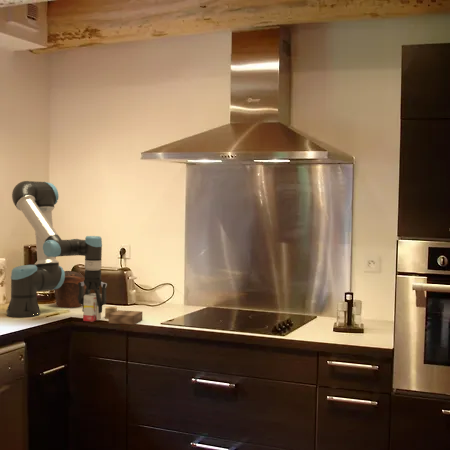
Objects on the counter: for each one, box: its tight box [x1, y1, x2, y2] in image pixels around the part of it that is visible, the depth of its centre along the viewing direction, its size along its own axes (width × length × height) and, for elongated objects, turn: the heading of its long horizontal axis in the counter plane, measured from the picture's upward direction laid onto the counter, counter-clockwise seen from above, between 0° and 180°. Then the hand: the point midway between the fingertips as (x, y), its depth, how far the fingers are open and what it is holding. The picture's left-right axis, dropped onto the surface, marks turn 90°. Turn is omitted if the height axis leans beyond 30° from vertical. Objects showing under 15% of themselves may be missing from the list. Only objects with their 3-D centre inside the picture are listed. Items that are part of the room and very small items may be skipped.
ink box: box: [82, 292, 102, 323], centre depth 290 cm, size 9×5×12 cm, turn 162°
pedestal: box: [108, 309, 144, 326], centre depth 288 cm, size 12×12×4 cm
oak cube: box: [104, 306, 118, 320], centre depth 298 cm, size 5×5×5 cm
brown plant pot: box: [53, 270, 86, 309], centre depth 329 cm, size 18×20×18 cm
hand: (92, 319), depth 290 cm, fingers closed on ink box, 5 cm apart
